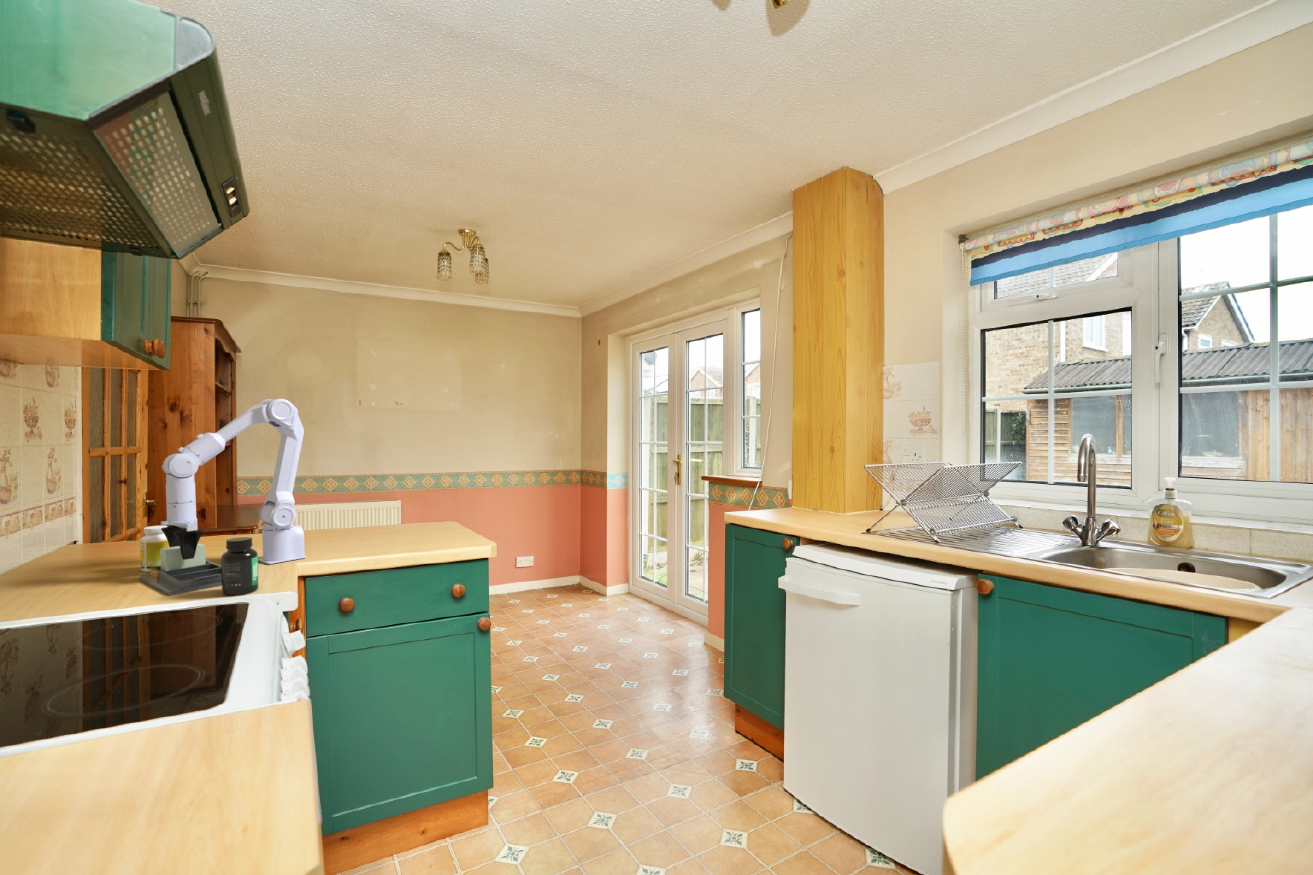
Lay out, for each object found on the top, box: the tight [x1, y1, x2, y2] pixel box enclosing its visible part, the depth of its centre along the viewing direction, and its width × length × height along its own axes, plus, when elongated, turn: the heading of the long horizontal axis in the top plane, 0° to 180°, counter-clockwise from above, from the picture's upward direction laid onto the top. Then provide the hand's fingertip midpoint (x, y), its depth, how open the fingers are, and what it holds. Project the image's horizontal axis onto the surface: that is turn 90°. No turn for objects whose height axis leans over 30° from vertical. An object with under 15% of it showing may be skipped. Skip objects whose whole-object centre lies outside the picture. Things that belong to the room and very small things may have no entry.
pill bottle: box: [139, 524, 169, 573], centre depth 156 cm, size 6×6×11 cm
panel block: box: [160, 542, 207, 572], centre depth 150 cm, size 8×4×6 cm, turn 144°
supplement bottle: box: [220, 536, 259, 597], centre depth 137 cm, size 7×7×12 cm
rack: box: [138, 559, 222, 596], centre depth 147 cm, size 15×22×2 cm
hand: (182, 556), depth 150 cm, fingers open, 7 cm apart
